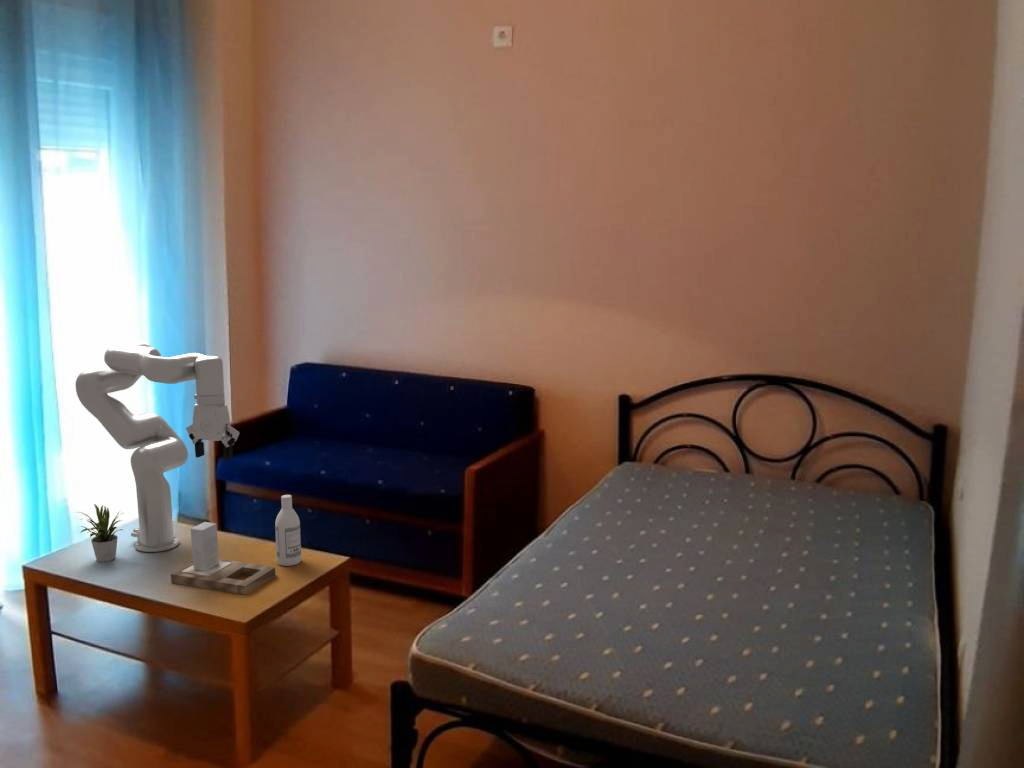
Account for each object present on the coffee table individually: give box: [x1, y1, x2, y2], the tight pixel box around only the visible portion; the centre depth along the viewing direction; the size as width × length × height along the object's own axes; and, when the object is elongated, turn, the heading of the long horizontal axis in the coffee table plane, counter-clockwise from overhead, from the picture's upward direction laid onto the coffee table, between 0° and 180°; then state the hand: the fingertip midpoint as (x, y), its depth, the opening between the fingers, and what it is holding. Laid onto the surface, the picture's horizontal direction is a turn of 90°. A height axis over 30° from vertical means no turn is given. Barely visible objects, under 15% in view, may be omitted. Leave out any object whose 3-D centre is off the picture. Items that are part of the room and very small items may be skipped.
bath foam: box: [274, 494, 302, 567], centre depth 267 cm, size 7×7×20 cm
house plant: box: [77, 503, 124, 563], centre depth 270 cm, size 14×14×16 cm
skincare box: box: [190, 521, 220, 571], centre depth 257 cm, size 6×4×12 cm
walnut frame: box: [170, 558, 277, 596], centre depth 256 cm, size 24×14×3 cm, turn 71°
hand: (214, 457), depth 266 cm, fingers open, 9 cm apart
